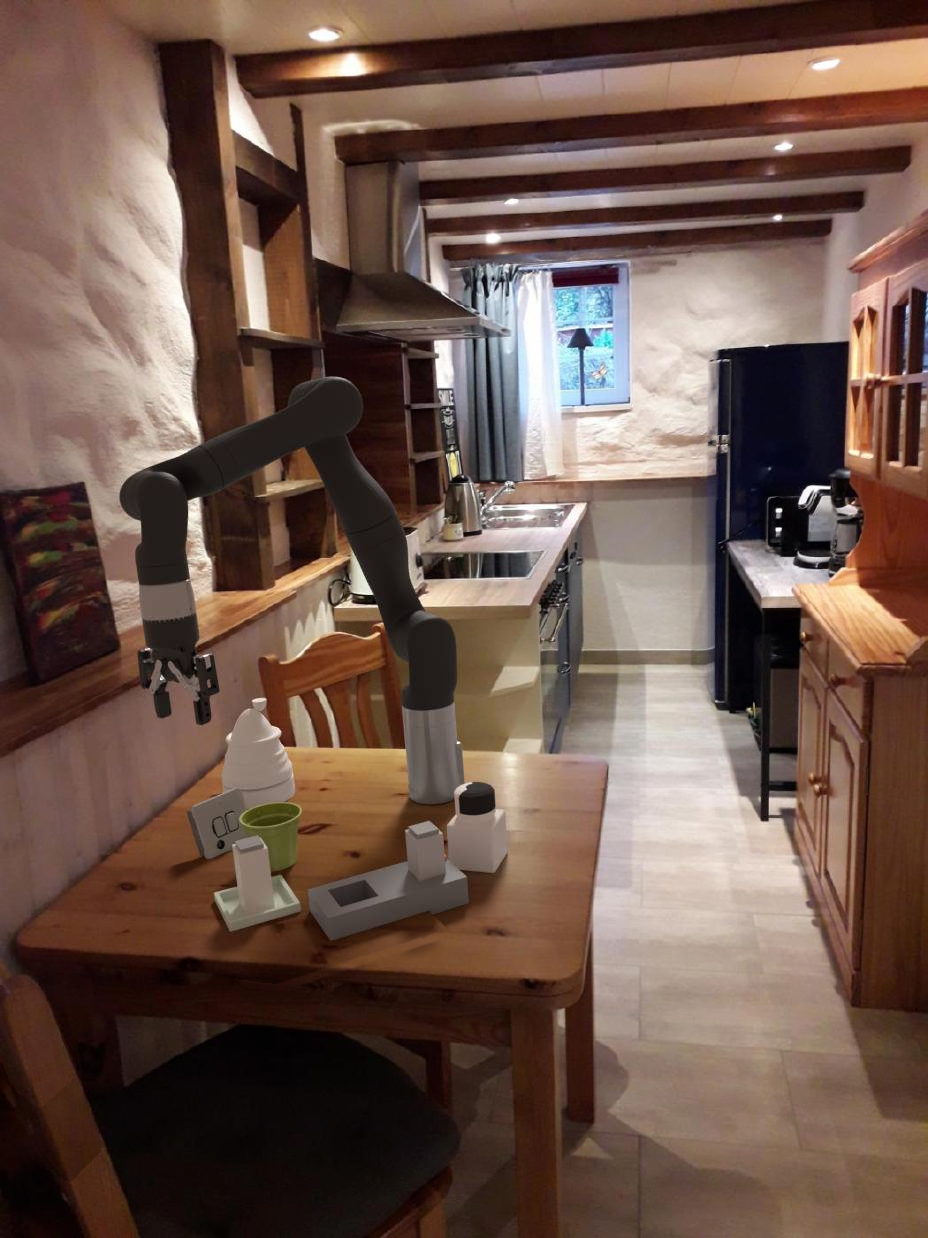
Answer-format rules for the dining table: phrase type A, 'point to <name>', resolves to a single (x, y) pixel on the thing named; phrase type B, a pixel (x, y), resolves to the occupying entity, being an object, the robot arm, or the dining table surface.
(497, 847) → the medicine bottle
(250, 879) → the plug
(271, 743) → the honey pot
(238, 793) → the electrical switch
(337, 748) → the dining table surface
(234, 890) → the tray
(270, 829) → the plant pot
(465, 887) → the grey peg socket block
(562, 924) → the dining table surface
